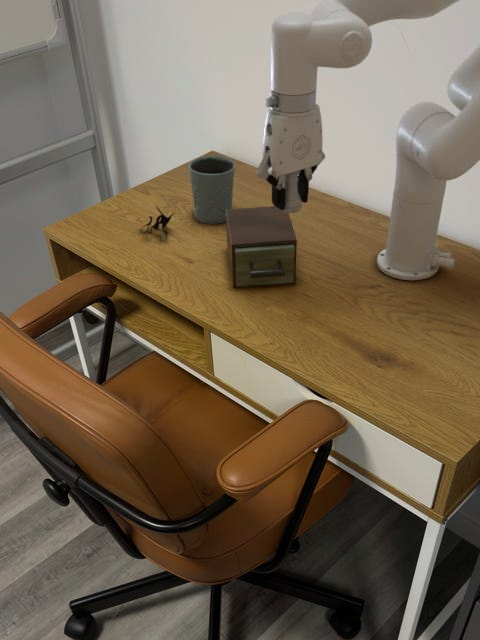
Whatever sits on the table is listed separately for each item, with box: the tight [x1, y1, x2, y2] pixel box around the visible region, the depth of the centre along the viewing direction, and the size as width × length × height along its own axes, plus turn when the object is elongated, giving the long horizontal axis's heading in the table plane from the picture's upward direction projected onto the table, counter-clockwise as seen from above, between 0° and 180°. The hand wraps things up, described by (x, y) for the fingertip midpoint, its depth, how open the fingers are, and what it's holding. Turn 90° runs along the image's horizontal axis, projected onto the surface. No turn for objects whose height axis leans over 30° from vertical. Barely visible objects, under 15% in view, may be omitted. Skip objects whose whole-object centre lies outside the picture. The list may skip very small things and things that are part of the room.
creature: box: [140, 204, 176, 242], centre depth 156 cm, size 8×5×8 cm
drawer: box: [235, 244, 295, 288], centre depth 140 cm, size 18×11×8 cm, turn 5°
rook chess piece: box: [281, 171, 303, 214], centre depth 127 cm, size 4×4×8 cm
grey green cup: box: [188, 155, 236, 225], centre depth 160 cm, size 10×10×12 cm
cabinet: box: [225, 205, 298, 288], centre depth 143 cm, size 15×13×10 cm
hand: (290, 202), depth 129 cm, fingers closed on rook chess piece, 4 cm apart
